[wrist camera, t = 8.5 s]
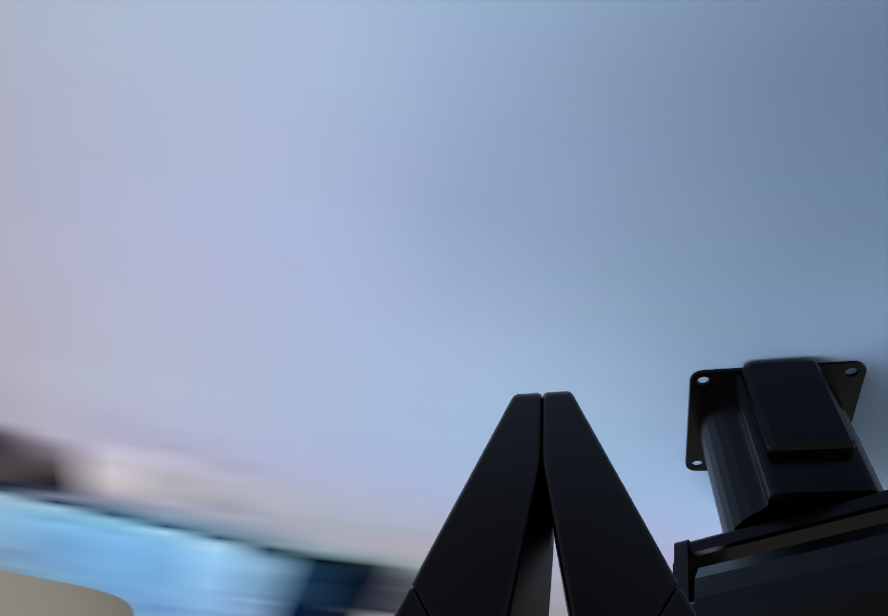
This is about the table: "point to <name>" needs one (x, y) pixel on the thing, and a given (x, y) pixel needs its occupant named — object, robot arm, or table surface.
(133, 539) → the table surface
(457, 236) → the table surface
